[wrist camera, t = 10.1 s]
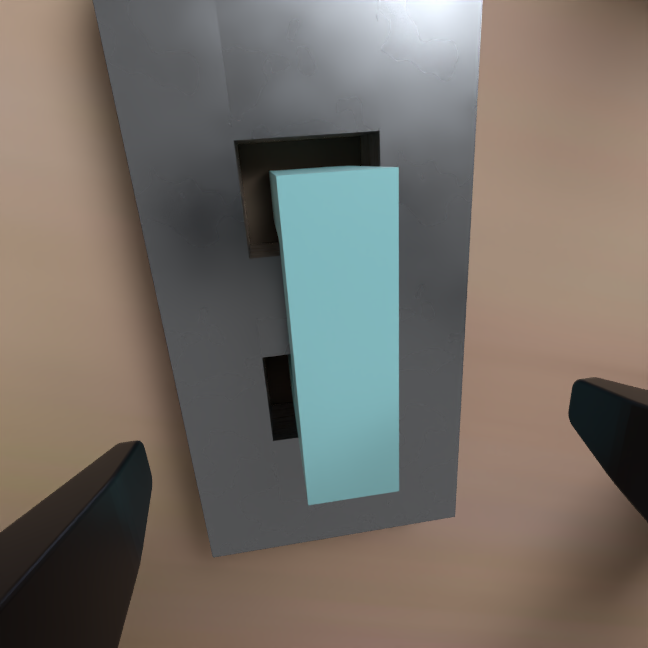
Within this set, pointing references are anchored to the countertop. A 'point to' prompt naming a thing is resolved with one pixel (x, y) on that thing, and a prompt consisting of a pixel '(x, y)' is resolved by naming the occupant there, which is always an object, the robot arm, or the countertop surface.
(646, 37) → the countertop surface
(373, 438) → the clip
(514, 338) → the countertop surface
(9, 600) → the robot arm
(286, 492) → the rail plate
